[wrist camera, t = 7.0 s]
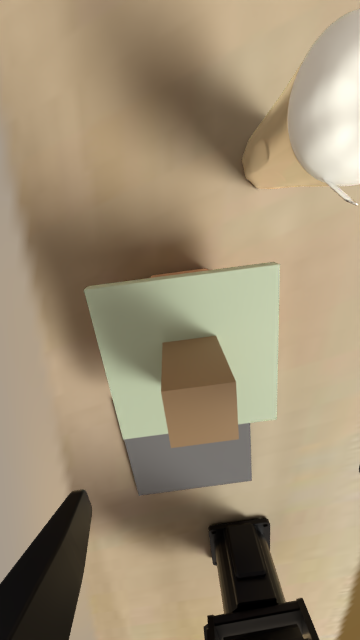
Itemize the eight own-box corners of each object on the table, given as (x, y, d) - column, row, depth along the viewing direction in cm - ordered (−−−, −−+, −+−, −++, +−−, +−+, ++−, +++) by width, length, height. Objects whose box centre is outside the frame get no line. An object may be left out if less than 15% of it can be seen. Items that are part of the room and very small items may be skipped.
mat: (250, 476, 25) (251, 480, 25) (139, 491, 25) (138, 495, 25) (247, 383, 21) (248, 386, 21) (115, 400, 21) (114, 403, 21)
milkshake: (214, 200, 16) (279, 174, 7) (248, 100, 14) (396, -114, 5) (279, 224, 17) (416, 229, 8) (318, 132, 15) (560, -8, 6)
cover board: (272, 410, 17) (312, 484, 13) (124, 430, 17) (109, 511, 13) (273, 261, 14) (331, 284, 9) (88, 286, 14) (45, 321, 9)
